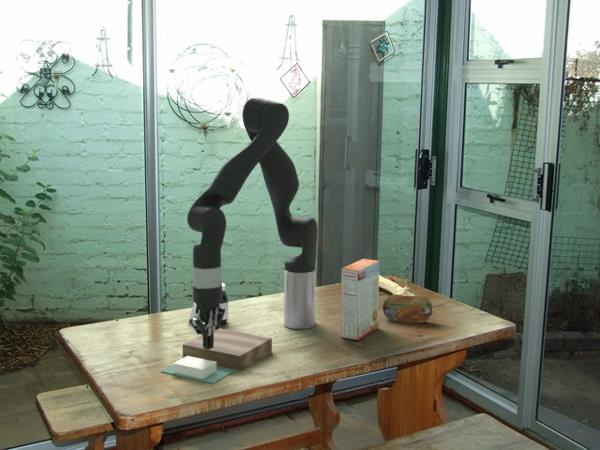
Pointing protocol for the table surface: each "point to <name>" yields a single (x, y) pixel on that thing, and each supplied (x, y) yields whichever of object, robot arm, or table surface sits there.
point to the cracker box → (359, 299)
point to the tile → (194, 367)
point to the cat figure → (394, 286)
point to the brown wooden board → (230, 349)
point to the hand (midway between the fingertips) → (208, 348)
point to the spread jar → (223, 304)
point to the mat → (211, 378)
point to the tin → (407, 308)
